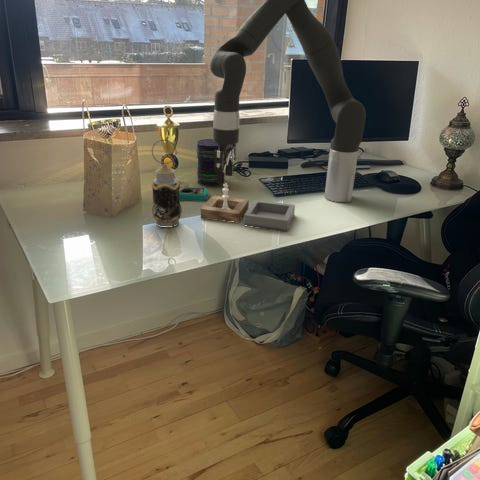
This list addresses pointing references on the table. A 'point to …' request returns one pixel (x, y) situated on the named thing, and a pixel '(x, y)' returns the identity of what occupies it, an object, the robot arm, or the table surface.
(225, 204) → the chess piece
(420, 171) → the table surface
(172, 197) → the lantern
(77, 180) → the table surface
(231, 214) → the socket stand
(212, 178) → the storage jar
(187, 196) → the digital multimeter
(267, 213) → the parts tray
